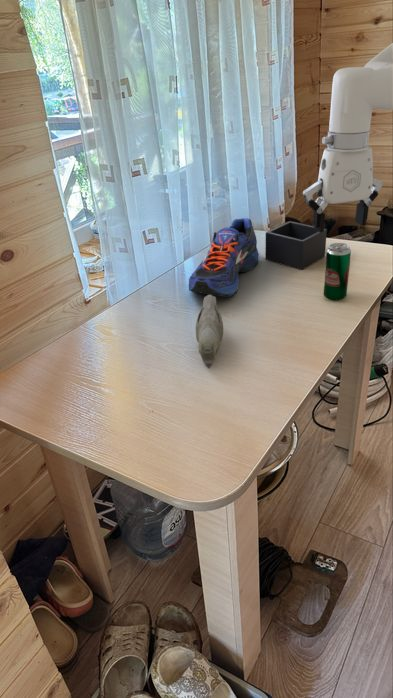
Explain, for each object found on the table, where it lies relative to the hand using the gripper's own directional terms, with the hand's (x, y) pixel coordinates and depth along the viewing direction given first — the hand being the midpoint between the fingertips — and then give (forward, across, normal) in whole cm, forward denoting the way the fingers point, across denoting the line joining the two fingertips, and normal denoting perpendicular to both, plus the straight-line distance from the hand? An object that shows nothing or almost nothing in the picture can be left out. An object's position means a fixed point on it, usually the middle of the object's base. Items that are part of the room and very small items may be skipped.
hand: (339, 227), depth 108 cm
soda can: (+17, +1, 0) cm, 17 cm away
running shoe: (+17, -20, +19) cm, 32 cm away
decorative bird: (+17, -32, -10) cm, 37 cm away
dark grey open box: (+16, +2, +24) cm, 29 cm away
